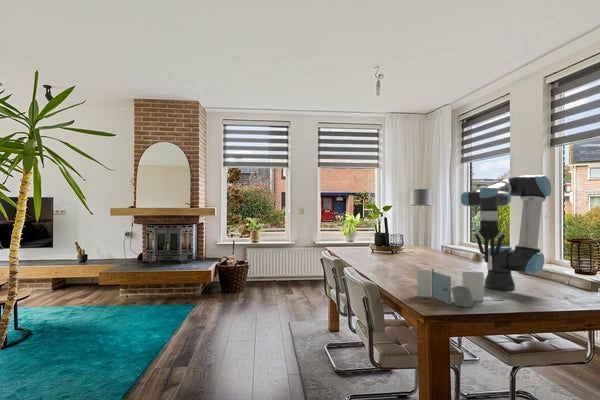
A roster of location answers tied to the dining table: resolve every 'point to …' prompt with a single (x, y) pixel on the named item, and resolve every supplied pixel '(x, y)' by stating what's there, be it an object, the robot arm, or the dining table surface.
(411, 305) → the dining table surface
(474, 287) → the wall
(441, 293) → the door
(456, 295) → the decorative stone
